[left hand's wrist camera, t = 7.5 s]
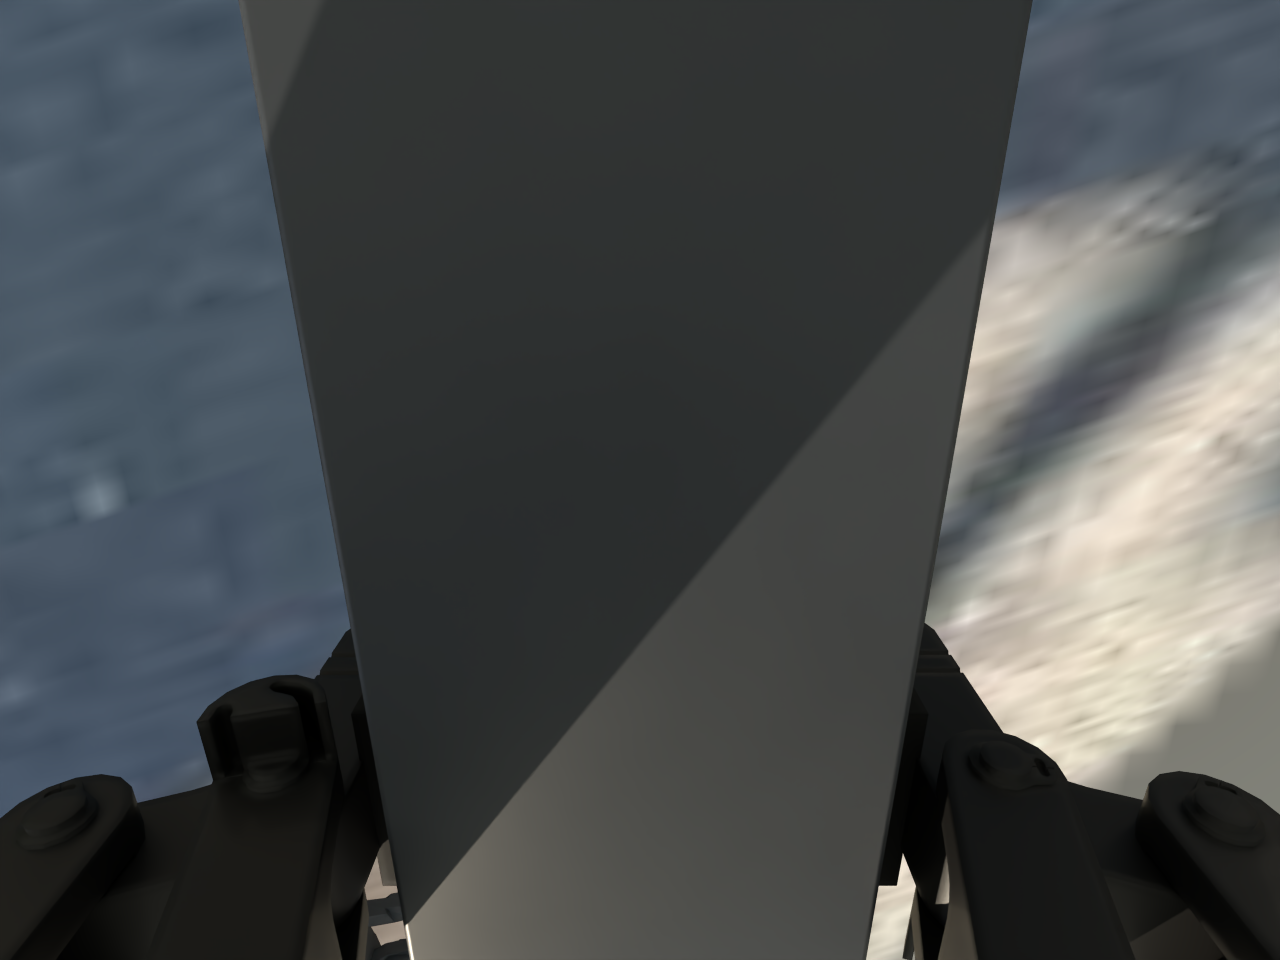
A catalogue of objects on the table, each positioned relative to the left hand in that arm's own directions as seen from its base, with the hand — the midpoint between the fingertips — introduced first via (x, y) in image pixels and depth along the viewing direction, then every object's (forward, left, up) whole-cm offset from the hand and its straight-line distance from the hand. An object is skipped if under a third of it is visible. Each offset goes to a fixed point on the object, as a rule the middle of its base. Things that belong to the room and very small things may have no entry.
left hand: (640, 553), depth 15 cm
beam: (+7, +21, -1) cm, 22 cm away
